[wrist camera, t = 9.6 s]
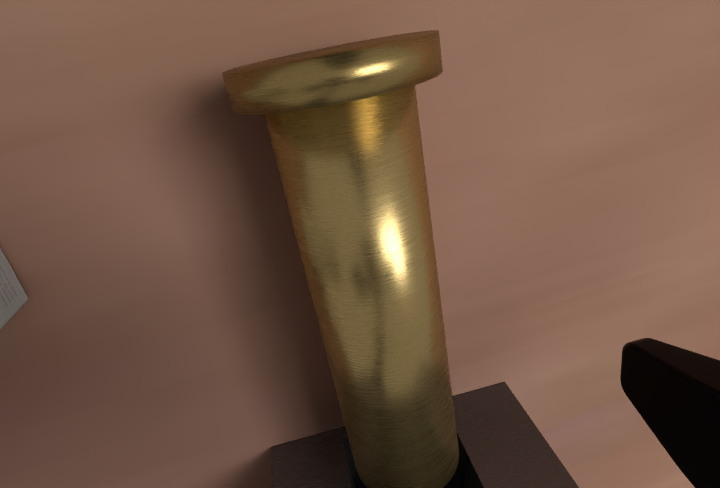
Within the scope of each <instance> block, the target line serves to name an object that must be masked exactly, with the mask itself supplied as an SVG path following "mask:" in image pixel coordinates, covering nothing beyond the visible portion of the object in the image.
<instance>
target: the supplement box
mask: <svg viewBox="0 0 720 488" xmlns="http://www.w3.org/2000/svg"><path fill="white" fill-rule="evenodd" d="M27 301H28V297H27V295H26V294H25V291H24V289H23V287H22V286H21V284H20V282H19V281H18V279H17V277H16V275H15V273H14V271H13V269H12V268H11V266H10V265H9V263H8V261H7V259H6V257H5V256H4V254H3V252H2V250H1V249H0V330H1V329H2V328H3V326H4V325H5V324H6V323H7V322H8V321H9V320H10V319H11V318H12V317H13V315H14V314H15V313H16V312H17V311H18V310H19V309H20V308H21V307H22V306H23V305H24V304H25V303H26V302H27Z"/></svg>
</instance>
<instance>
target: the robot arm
mask: <svg viewBox="0 0 720 488" xmlns="http://www.w3.org/2000/svg"><path fill="white" fill-rule="evenodd" d="M621 385H622V388H623V390H624V392H625V394H626V395H627V397H628V398H629V400H630V401H631V402H632V404H633V405H634V407H635V408H636V409H637V411H638V412H639V414H640V415H641V416H642V418H643V419H644V420H645V422H646V423H647V425H648V426H649V427H650V429H651V430H652V432H653V433H654V434H655V436H656V437H657V439H658V440H659V441H660V443H661V444H662V445H663V447H664V448H665V450H666V451H667V452H668V454H669V455H670V457H671V458H672V459H673V461H674V462H675V463H676V465H677V466H678V467H679V469H680V470H681V471H682V472H683V474H684V475H685V476H686V477H687V478H688V480H689V481H690V482H691V483H692V484H693V486H694V487H695V488H720V361H719V360H716V359H713V358H710V357H707V356H704V355H701V354H698V353H695V352H692V351H688V350H685V349H682V348H679V347H676V346H673V345H670V344H667V343H664V342H661V341H657V340H654V339H651V338H643V339H640V340H636V341H632V342H629V343H627V344H625V346H624V347H623V350H622V363H621Z"/></svg>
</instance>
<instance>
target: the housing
mask: <svg viewBox="0 0 720 488" xmlns="http://www.w3.org/2000/svg"><path fill="white" fill-rule="evenodd" d="M452 398H453V406H454V414H455V422H456V431H457V439H458V447H459V462H458V466H457V469H456V471H455V473H454V475H453V477H452V478H451V480H450V481H449V482H448V483H447V484H446V485H445V486H444V487H443V488H579V487H578V486H577V484H576V483H575V481H574V480H573V478H572V477H571V476H570V474H569V473H568V471H567V470H566V468H565V467H564V466H563V464H562V463H561V461H560V460H559V458H558V457H557V456H556V454H555V453H554V451H553V450H552V449H551V447H550V446H549V444H548V443H547V441H546V440H545V439H544V437H543V436H542V434H541V433H540V431H539V430H538V429H537V427H536V426H535V424H534V423H533V421H532V420H531V419H530V417H529V416H528V414H527V413H526V411H525V410H524V409H523V407H522V406H521V404H520V403H519V401H518V400H517V399H516V397H515V396H514V394H513V393H512V391H511V390H510V389H509V387H508V386H507V384H506V383H505V382H503V383H500V384H496V385H493V386H489V387H486V388H482V389H478V390H475V391H471V392H468V393H464V394H461V395H457V396H453V397H452ZM271 461H272V488H367V487H366V486H365V484H364V483H363V482H362V480H361V479H360V477H359V475H358V473H357V469H356V466H355V462H354V458H353V454H352V450H351V446H350V443H349V439H348V435H347V431H346V427H343V428H339V429H336V430H332V431H329V432H325V433H321V434H318V435H314V436H311V437H307V438H304V439H300V440H296V441H293V442H289V443H286V444H282V445H279V446H275V447H271Z"/></svg>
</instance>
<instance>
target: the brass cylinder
mask: <svg viewBox="0 0 720 488" xmlns="http://www.w3.org/2000/svg"><path fill="white" fill-rule="evenodd" d="M442 72H443V69H442V59H441V48H440V38H439V31H438V30H431V31H421V32H413V33H406V34H400V35H393V36H387V37H381V38H375V39H370V40H364V41H358V42H353V43H348V44H342V45H337V46H332V47H327V48H322V49H317V50H312V51H307V52H302V53H297V54H293V55H288V56H283V57H279V58H274V59H270V60H266V61H261V62H257V63H253V64H249V65H245V66H241V67H238V68H234V69H231V70H228V71H225V72H223V73H222V75H223V78H224V81H225V85H226V88H227V92H228V95H229V99H230V102H231V106H232V109H233V112H234V113H236V114H242V115H262V114H264V116H265V120H266V124H267V128H268V132H269V136H270V139H271V143H272V147H273V151H274V155H275V159H276V162H277V166H278V170H279V174H280V178H281V182H282V185H283V189H284V193H285V197H286V201H287V205H288V208H289V212H290V216H291V220H292V224H293V228H294V232H295V235H296V239H297V243H298V247H299V251H300V255H301V258H302V262H303V266H304V270H305V274H306V278H307V281H308V285H309V289H310V293H311V297H312V301H313V304H314V308H315V312H316V316H317V320H318V324H319V327H320V331H321V335H322V339H323V343H324V347H325V351H326V354H327V358H328V362H329V366H330V370H331V374H332V377H333V381H334V385H335V389H336V393H337V397H338V400H339V404H340V408H341V412H342V416H343V420H344V423H345V427H346V431H347V435H348V439H349V443H350V446H351V450H352V454H353V458H354V462H355V466H356V469H357V473H358V475H359V477H360V479H361V480H362V482H363V483H364V484H365V486H366V487H367V488H443V487H444V486H445V485H446V484H447V483H448V482H449V481H450V480H451V478H452V477H453V475H454V473H455V471H456V469H457V466H458V462H459V447H458V439H457V431H456V422H455V414H454V406H453V398H452V389H451V381H450V373H449V364H448V356H447V348H446V339H445V331H444V323H443V314H442V306H441V298H440V290H439V281H438V273H437V265H436V256H435V248H434V240H433V231H432V223H431V215H430V206H429V198H428V190H427V182H426V173H425V165H424V157H423V148H422V140H421V132H420V123H419V115H418V107H417V98H416V90H415V85H417V84H419V83H422V82H425V81H427V80H430V79H432V78H434V77H436V76H438V75H440V74H441V73H442Z"/></svg>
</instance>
